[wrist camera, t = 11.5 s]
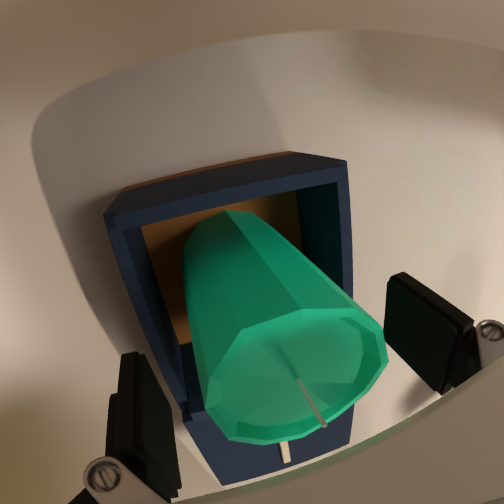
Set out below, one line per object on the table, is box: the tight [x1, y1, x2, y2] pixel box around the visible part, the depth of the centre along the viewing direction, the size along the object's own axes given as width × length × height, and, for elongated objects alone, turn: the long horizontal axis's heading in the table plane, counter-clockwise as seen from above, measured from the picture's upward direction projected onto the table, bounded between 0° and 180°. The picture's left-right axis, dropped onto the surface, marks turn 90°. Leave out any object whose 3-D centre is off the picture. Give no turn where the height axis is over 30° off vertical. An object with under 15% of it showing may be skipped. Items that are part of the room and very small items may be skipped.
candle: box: [181, 210, 389, 445], centre depth 13 cm, size 6×6×12 cm
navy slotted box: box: [103, 151, 354, 486], centre depth 18 cm, size 20×10×8 cm, turn 10°
